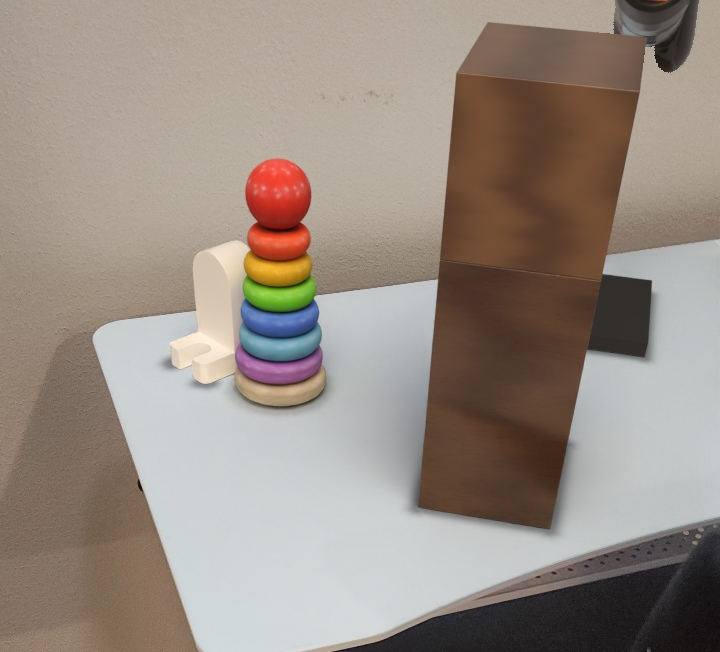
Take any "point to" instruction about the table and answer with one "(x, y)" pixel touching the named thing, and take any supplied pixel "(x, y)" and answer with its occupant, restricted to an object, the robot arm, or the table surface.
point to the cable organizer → (214, 313)
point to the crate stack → (522, 261)
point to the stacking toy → (279, 292)
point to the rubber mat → (622, 316)
